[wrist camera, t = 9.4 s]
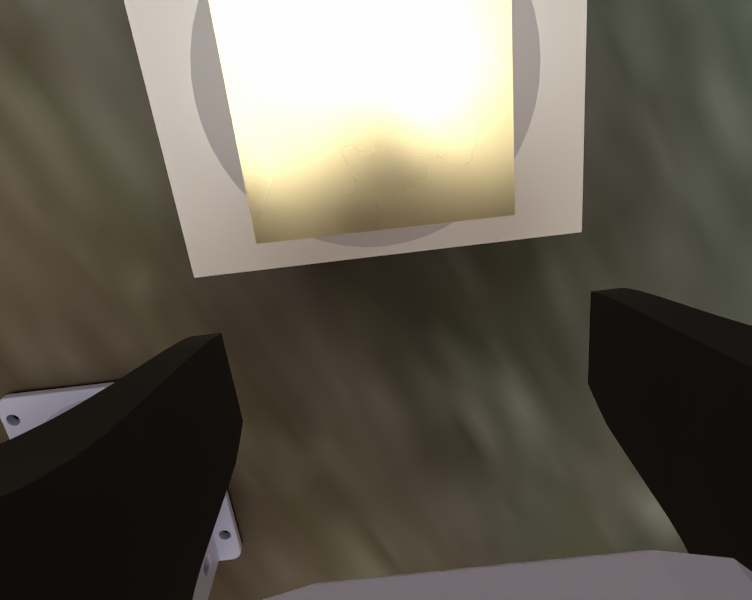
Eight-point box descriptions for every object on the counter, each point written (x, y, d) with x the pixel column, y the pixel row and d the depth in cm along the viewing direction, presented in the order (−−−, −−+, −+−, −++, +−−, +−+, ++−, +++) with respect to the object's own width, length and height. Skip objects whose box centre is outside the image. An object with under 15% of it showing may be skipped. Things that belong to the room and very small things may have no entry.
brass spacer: (458, 157, 18) (515, 214, 11) (294, 175, 18) (256, 244, 11) (447, -31, 16) (509, -93, 9) (264, -9, 16) (197, -55, 9)
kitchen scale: (562, 216, 21) (621, 263, 16) (208, 258, 21) (164, 316, 17) (567, -337, 15) (661, -518, 10) (82, -270, 16) (-43, -416, 11)
